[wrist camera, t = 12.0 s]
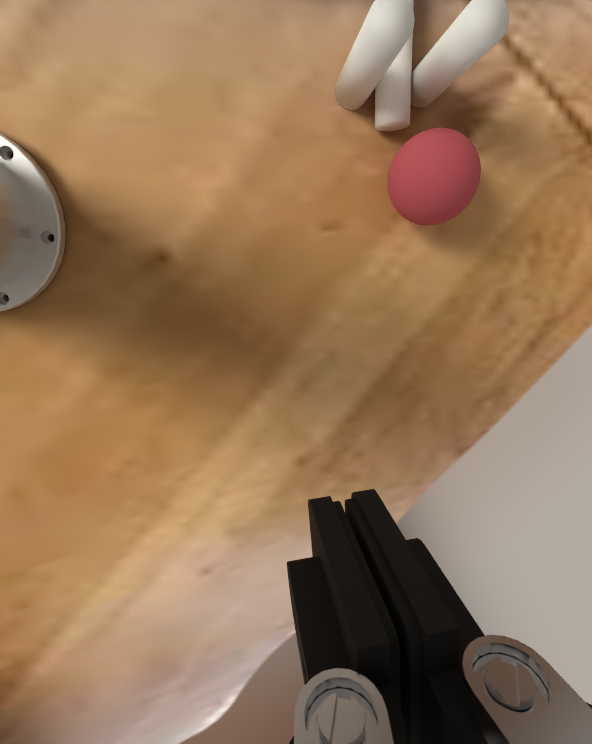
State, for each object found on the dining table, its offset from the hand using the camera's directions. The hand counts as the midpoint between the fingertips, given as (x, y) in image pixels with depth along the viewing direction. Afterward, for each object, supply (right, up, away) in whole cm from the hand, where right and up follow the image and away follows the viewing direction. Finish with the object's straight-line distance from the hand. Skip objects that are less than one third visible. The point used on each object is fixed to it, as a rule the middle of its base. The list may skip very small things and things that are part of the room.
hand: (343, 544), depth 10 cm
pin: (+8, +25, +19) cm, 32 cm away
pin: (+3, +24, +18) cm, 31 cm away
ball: (+8, +18, +18) cm, 26 cm away
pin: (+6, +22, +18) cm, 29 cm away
